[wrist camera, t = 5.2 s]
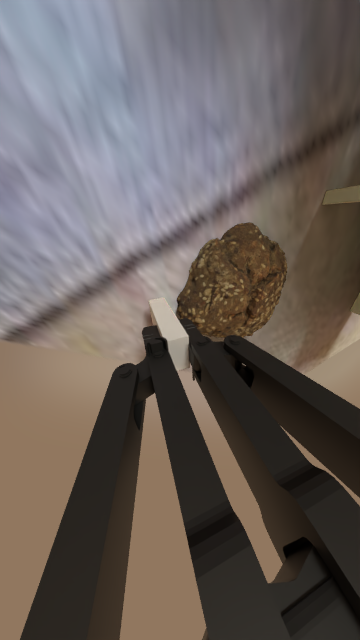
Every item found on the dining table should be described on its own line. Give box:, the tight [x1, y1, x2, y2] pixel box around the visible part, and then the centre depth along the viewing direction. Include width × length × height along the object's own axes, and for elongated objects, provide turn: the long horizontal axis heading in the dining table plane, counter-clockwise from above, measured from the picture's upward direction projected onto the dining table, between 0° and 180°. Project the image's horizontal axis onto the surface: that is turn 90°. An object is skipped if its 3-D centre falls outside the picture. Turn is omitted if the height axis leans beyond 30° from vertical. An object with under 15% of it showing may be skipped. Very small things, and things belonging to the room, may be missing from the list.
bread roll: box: [177, 223, 287, 338], centre depth 18 cm, size 13×12×5 cm
